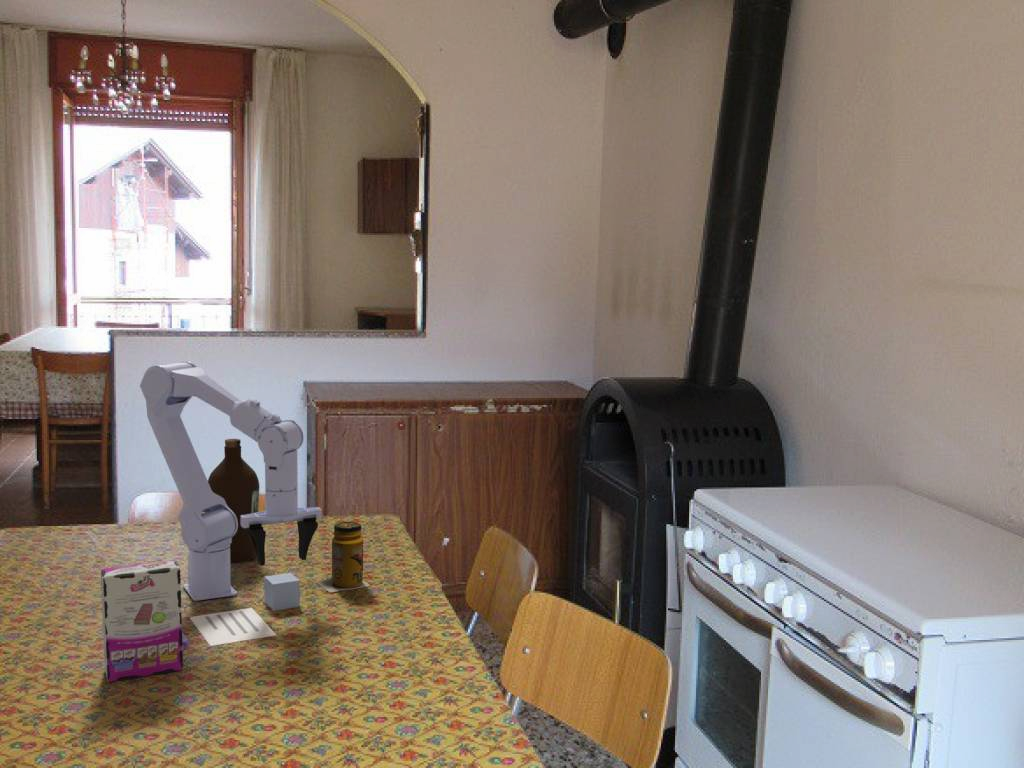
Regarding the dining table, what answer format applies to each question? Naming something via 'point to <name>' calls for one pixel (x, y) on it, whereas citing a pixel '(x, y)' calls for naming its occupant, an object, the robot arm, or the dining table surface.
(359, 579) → the condiment
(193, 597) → the robot arm
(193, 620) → the letter
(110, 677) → the candy bar box
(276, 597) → the cube
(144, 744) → the dining table surface
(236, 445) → the olive oil
